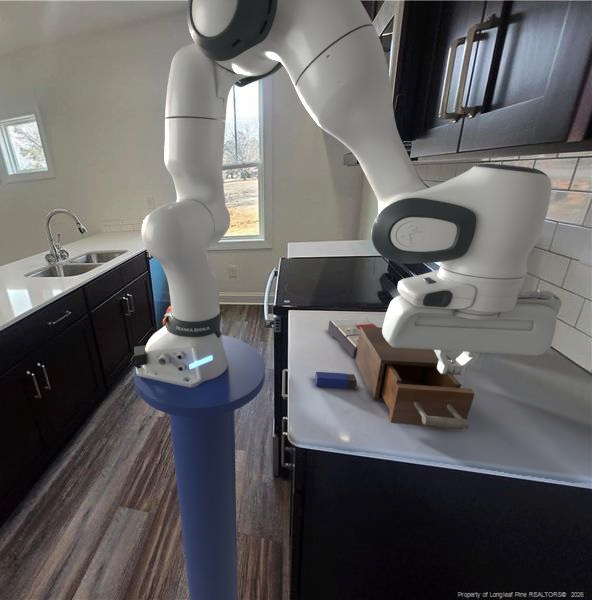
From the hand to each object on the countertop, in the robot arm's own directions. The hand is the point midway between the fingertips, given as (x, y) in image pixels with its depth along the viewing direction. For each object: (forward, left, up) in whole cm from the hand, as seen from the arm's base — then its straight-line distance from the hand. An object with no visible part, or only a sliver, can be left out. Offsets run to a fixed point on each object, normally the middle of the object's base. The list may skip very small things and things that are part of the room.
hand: (449, 372), depth 49 cm
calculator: (-3, +34, -14) cm, 37 cm away
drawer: (0, +7, -13) cm, 15 cm away
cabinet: (0, +17, -14) cm, 22 cm away
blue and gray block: (-13, +14, -14) cm, 24 cm away
